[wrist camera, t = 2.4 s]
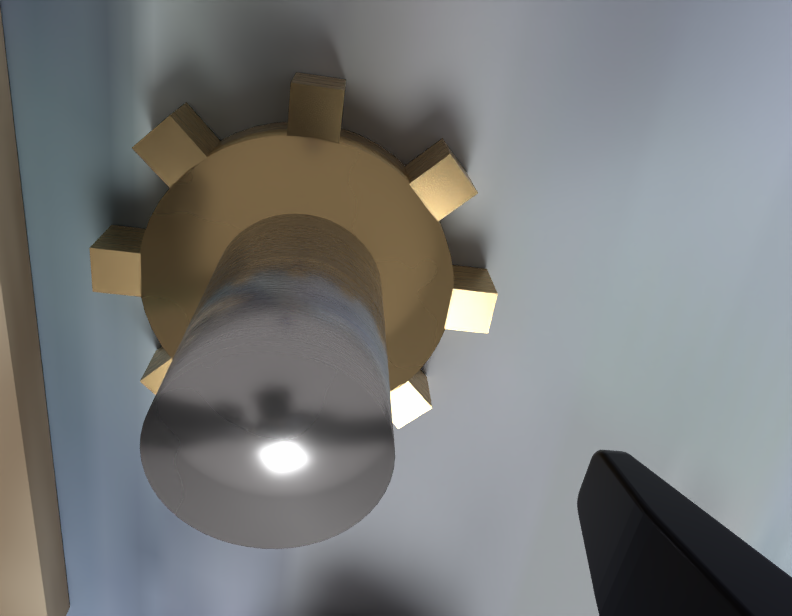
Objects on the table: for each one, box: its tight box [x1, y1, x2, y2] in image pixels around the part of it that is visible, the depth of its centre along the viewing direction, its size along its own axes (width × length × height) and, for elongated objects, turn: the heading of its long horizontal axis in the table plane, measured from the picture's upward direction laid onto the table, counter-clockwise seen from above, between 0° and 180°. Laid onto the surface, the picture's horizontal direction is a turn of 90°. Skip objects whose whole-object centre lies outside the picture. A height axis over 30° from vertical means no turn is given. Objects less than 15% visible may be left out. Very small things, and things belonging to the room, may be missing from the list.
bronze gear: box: [90, 72, 498, 549], centre depth 11 cm, size 8×8×6 cm
